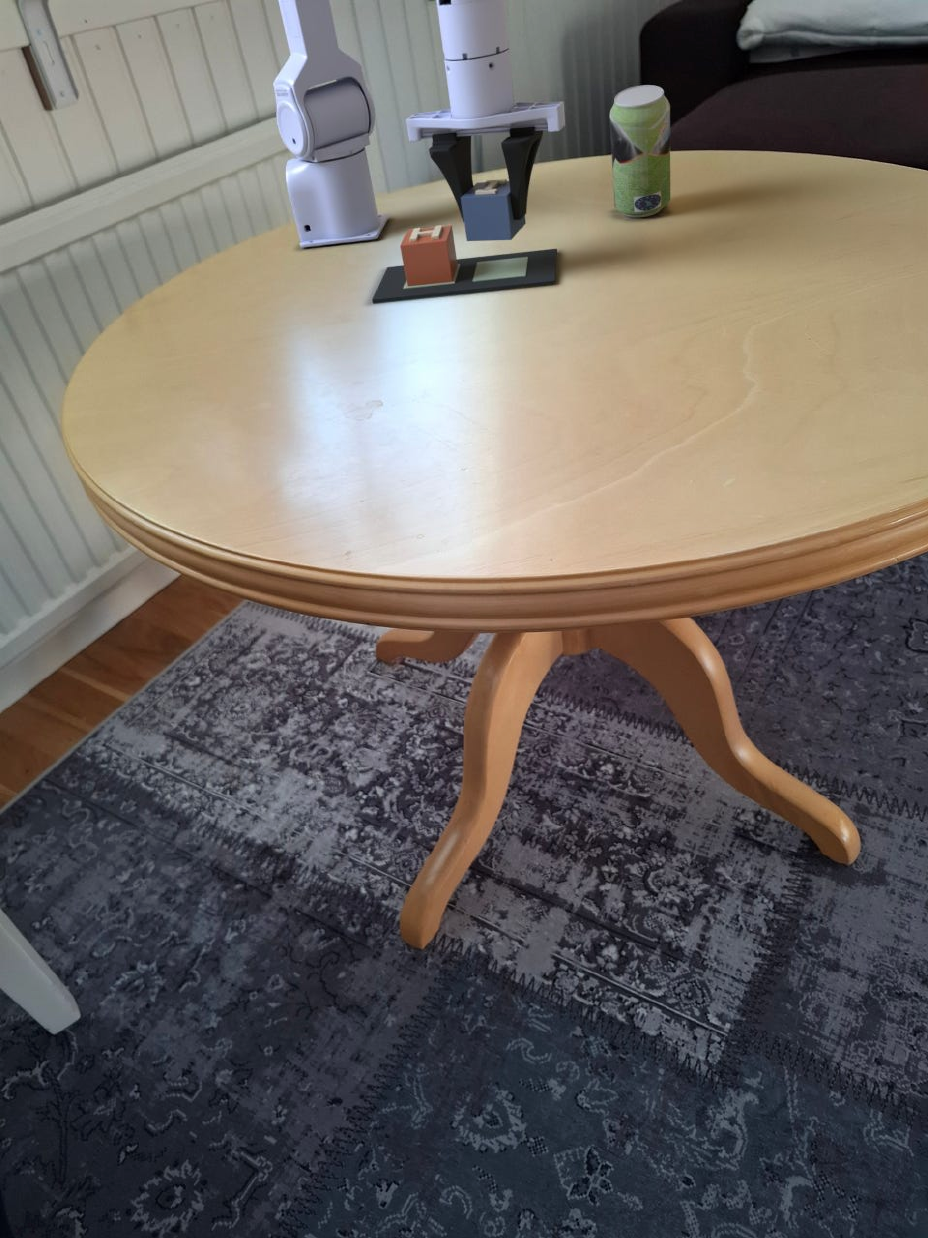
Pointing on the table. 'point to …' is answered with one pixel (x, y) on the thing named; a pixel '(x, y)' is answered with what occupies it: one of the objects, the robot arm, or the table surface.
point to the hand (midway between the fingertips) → (495, 217)
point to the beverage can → (640, 150)
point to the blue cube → (489, 212)
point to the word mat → (475, 276)
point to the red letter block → (429, 255)
